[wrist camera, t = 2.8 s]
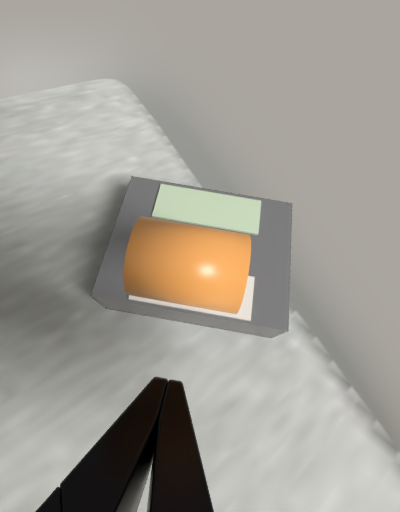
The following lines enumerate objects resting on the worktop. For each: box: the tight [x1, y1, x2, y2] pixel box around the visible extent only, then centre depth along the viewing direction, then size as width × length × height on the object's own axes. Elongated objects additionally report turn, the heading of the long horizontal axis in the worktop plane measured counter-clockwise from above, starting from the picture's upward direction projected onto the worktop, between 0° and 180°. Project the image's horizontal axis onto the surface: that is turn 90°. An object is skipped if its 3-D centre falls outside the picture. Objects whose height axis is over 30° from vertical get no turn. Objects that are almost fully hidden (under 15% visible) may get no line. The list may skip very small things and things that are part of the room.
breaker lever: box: [123, 216, 251, 314], centre depth 13 cm, size 2×3×12 cm
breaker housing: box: [91, 176, 292, 338], centre depth 21 cm, size 10×13×4 cm
